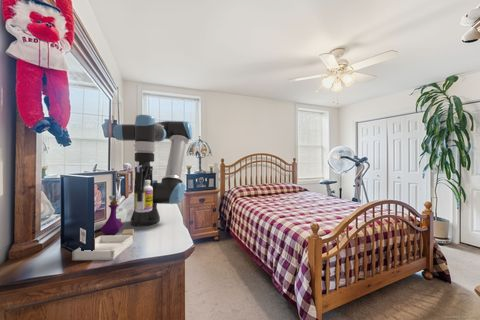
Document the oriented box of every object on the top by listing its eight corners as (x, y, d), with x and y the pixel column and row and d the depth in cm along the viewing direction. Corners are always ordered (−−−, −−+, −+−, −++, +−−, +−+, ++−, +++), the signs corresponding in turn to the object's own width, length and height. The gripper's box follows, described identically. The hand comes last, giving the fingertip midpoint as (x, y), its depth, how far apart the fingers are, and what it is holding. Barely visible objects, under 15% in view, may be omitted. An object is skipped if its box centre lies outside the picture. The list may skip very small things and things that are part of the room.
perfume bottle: (106, 231, 101) (106, 194, 101) (123, 230, 103) (123, 194, 103) (99, 237, 94) (100, 197, 94) (118, 235, 96) (119, 196, 96)
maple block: (123, 238, 92) (123, 229, 92) (133, 237, 93) (133, 229, 93) (121, 242, 88) (121, 232, 88) (132, 241, 90) (132, 231, 90)
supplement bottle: (146, 213, 83) (146, 181, 84) (131, 212, 85) (131, 180, 85) (155, 209, 90) (156, 179, 90) (141, 208, 91) (142, 179, 91)
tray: (100, 242, 87) (100, 235, 87) (133, 242, 88) (133, 235, 88) (72, 260, 72) (72, 251, 72) (113, 259, 72) (113, 251, 72)
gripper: (144, 153, 97) (143, 202, 97) (124, 151, 77) (123, 213, 77) (160, 153, 98) (160, 202, 97) (145, 151, 78) (144, 212, 78)
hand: (143, 207), depth 87 cm, fingers closed on supplement bottle, 7 cm apart
